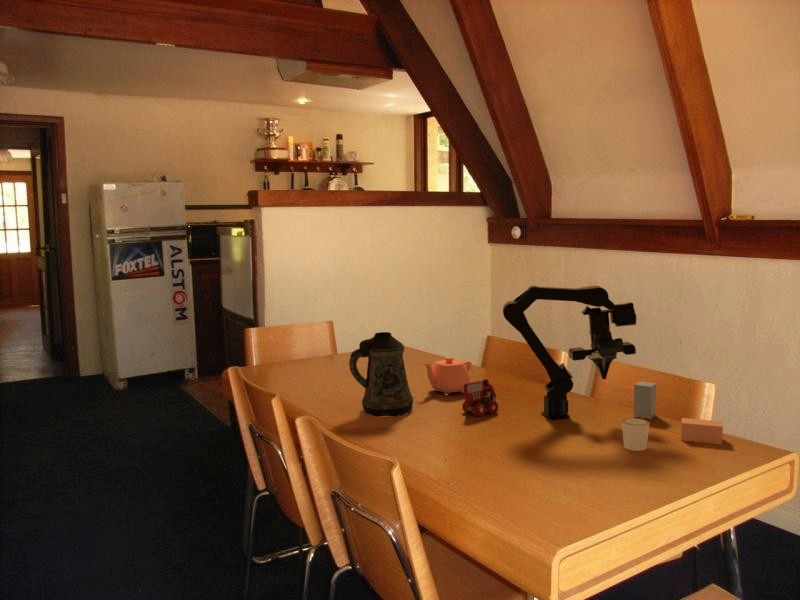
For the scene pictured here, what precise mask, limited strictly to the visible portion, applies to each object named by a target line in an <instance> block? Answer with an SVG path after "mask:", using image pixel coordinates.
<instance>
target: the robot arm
mask: <svg viewBox="0 0 800 600" xmlns="http://www.w3.org/2000/svg"><path fill="white" fill-rule="evenodd" d="M537 300H544V301H545V300H546V301H560V302H561V301H562V302H576V303H581V304H584V305H586V306H585V308H584V309H583V310H582V311H581V314H582V315H583V316H587V315H588V321H589V322H588V323H589V332H588V333H589V335H590V348H586V349H584V347H581V346H579V347H570V348H569V349H568V358H569V359H571V360H572V361H583V360H585V359H586V358H587V359H589V360H591V362H593V363H594V365H595V367H596V369H597V371H598V373H599V375H600V378H601V379H602V380H606V379H607V375H608V373H609V369H610V366H611V364H612V362H613V360H617V355H618V353H623V355H625V356H628V355H636V354H637V351H636V349H637V348H636V345H634V344H633V343H631V342H629V341H625V342H624V341H623V338H621V337H619V338H614V339H613V337H612V332H611V326H610V325H611V324H614V326H615V327H628V326H629V327H630V326H636V325H637V314H636V310H635V307H634V303H633V302H631V301H630V302H624V303H617V304H616V303H614V302H613V301H611V299H610V297H609V293H608V291H607V290H606V289H605V288H603V287H602V286H600V285H590V286H582V287H576V288H575V287H573V288H571V287H555V286H551V287H550V286H537V285H530V286H529V287H528V288H527V289H526V290H525V291H524V292H523V293H521V294H520V295H518V296H517V297H516V298H514V300H510V301H507V302H506V303H504V305H503V307H502V313H503V317H504V319H505V320H506V321H507V322H508V323H509V324H510V325H511V326H512V327H513V328H514V329H515V330H516V331H517V332H519V333H520V335H521V336H522V338H523V339H524V341H525V342H526V343H527V344H528V346H529V348H530V349H531V350H532V352H533V354H534V355H535V356H536V358H537V359H538V361H539V362H540V363H541V364H542V367H543V368H544V369H545V371H546V372H547V375H548V377H549V380H550V381H549V382H548V383H547V384H546V385H544V389H545V392H546V395H543V411H541V415H542V416H544V417H546V418H548V419H549V420H558V419H568V418H570V415H569V400H568V393H570V392H571V391H572V389H573V388H574V382H573V380H572V379H574V378H573V377H574V376H573V375H572V373H571V371H569V370H568V369H567V367H566V365H565V364H564V362H561V364H559V363H558V362H557V361H556V360H555V359H554V358H553V356H552V355H551V354H550V352H549V350H548V349H547V348H546V346H545V345H544V343H543V342H542V341H541V339H540V338H539V335H537V334H536V332H535V331H534V329H533V328H532V326H531V325H530V323H529V321H528V319H527V317H526V315H525V311H526V310H527V309H529V308H530V307H531V305H532V304H533V303H535V302H536V301H537ZM590 306H592V307H590ZM601 307H603V308H605V309H602V308H601Z"/></svg>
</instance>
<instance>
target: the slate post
mask: <svg viewBox="0 0 800 600" xmlns="http://www.w3.org/2000/svg"><path fill="white" fill-rule="evenodd" d="M633 387H634V389H633V392H634V393H633V417H634V416H637V417H644V418H652V417H653V416H654V415H655V416H656V413H657V411H656V408H657V407H656V406H657V405H656V402H657V383H655V382H648V381H642V380H641V381H637V382H636V383H635V384H634V386H633ZM655 416H654V417H655ZM654 417H653V418H654ZM653 418H652V419H653Z"/></svg>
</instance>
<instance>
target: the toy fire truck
mask: <svg viewBox="0 0 800 600" xmlns="http://www.w3.org/2000/svg"><path fill="white" fill-rule="evenodd" d="M461 407H462V408H461V409H462V411H463V412H464V413H466V414H470V412H471V413H473V414H474V415H475V417H480V418H482V417H483V416H484V415H485V414H486V412H487V413H488V414H493V413H494V414H495V413H497V412H498V410H499V403H498V402H497V394H496V391H495V389H494V387H493V385H492V384H490V381H489V380H488V379H487V378H484V379H482V380H476V381H473V382H472V381H471V382H470V383H465V384H464V402H462V406H461ZM494 414H493V415H494Z"/></svg>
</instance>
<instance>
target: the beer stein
mask: <svg viewBox="0 0 800 600" xmlns="http://www.w3.org/2000/svg"><path fill="white" fill-rule="evenodd" d="M358 346H359V347H358V348H357V349H355V350H353V351H352V352H351V353H350V358H349V361H348V367H349V371H350V372H351V373H350V374H351V376H353V378H354V379H355V381H356V382H357V383H359V385H360V386H362V387H363V388H364V389H365V391H364V394H363V397H362V399H361V400H362V401H361V404H362V408H363V412H364V413H365V414H366V413H367V415H368V414H370V415H369V416H372V415H373V417H378V416H394V417H399V416H398V415H400V416H404V415H403V414H405V415H407V414H406V413H408V414H410V413H411V412H412V411H413V405H414V397H413V394H412V392H411V389H410V385H409V383H408V378H407V372H406V366H405V361H404V352H405V345H403V343H402V342H400V341H399V340H398V339H396V338H395V337H394V336H392V333H391V332H388V331H382V332H381V331H380V332H375V333H374V336H372V337H370V338H368V339H364V340H363V339H362V340H361V341H360V342H359V345H358ZM361 358H367V359H368V360H367V361H368V362H367V368H366V369H367V370H366V378H365V377H364V376H363V375H362V373H360V371H359V368H358V366H357V363H358V360H359V359H361ZM411 410H412V411H411ZM410 411H411V412H410ZM409 412H410V413H409Z"/></svg>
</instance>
